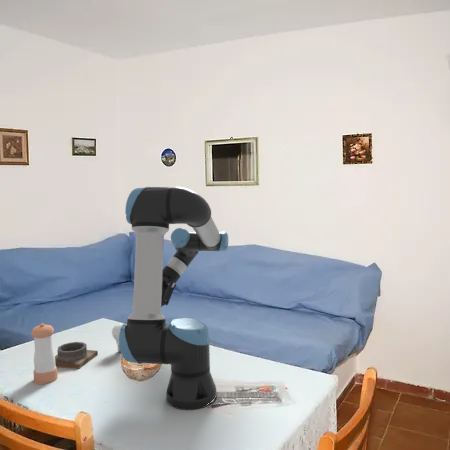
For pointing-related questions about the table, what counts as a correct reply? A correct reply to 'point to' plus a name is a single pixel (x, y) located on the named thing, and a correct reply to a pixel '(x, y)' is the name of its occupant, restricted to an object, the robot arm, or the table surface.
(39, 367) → the salt shaker
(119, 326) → the lightbulb
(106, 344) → the table surface
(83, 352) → the grey bowl on board
